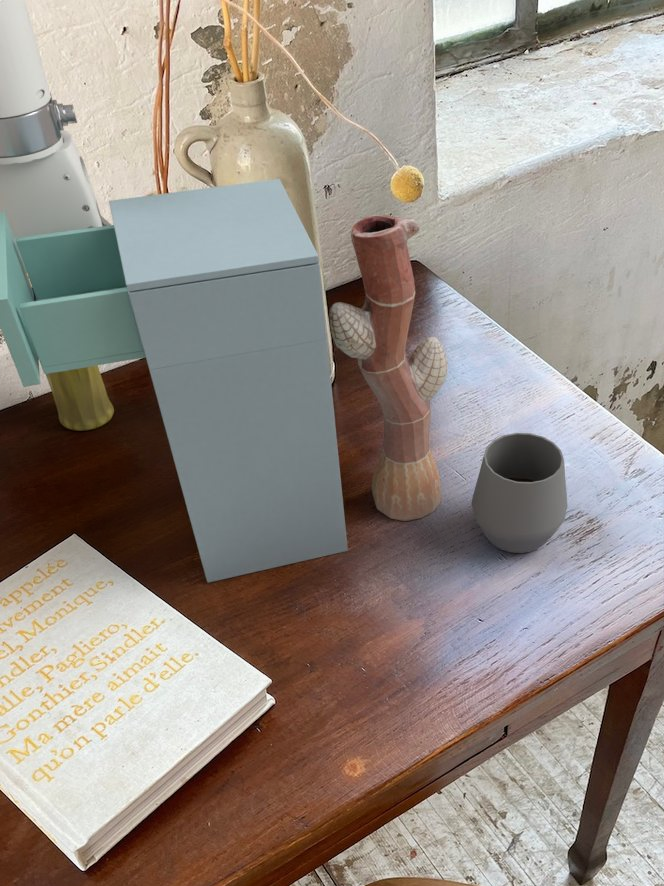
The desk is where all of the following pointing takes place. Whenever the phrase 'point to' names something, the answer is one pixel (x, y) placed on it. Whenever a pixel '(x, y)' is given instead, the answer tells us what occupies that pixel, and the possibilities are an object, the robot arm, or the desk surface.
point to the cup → (520, 492)
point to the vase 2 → (394, 366)
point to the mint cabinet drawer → (65, 301)
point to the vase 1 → (81, 398)
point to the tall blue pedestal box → (238, 369)
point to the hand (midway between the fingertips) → (72, 329)
